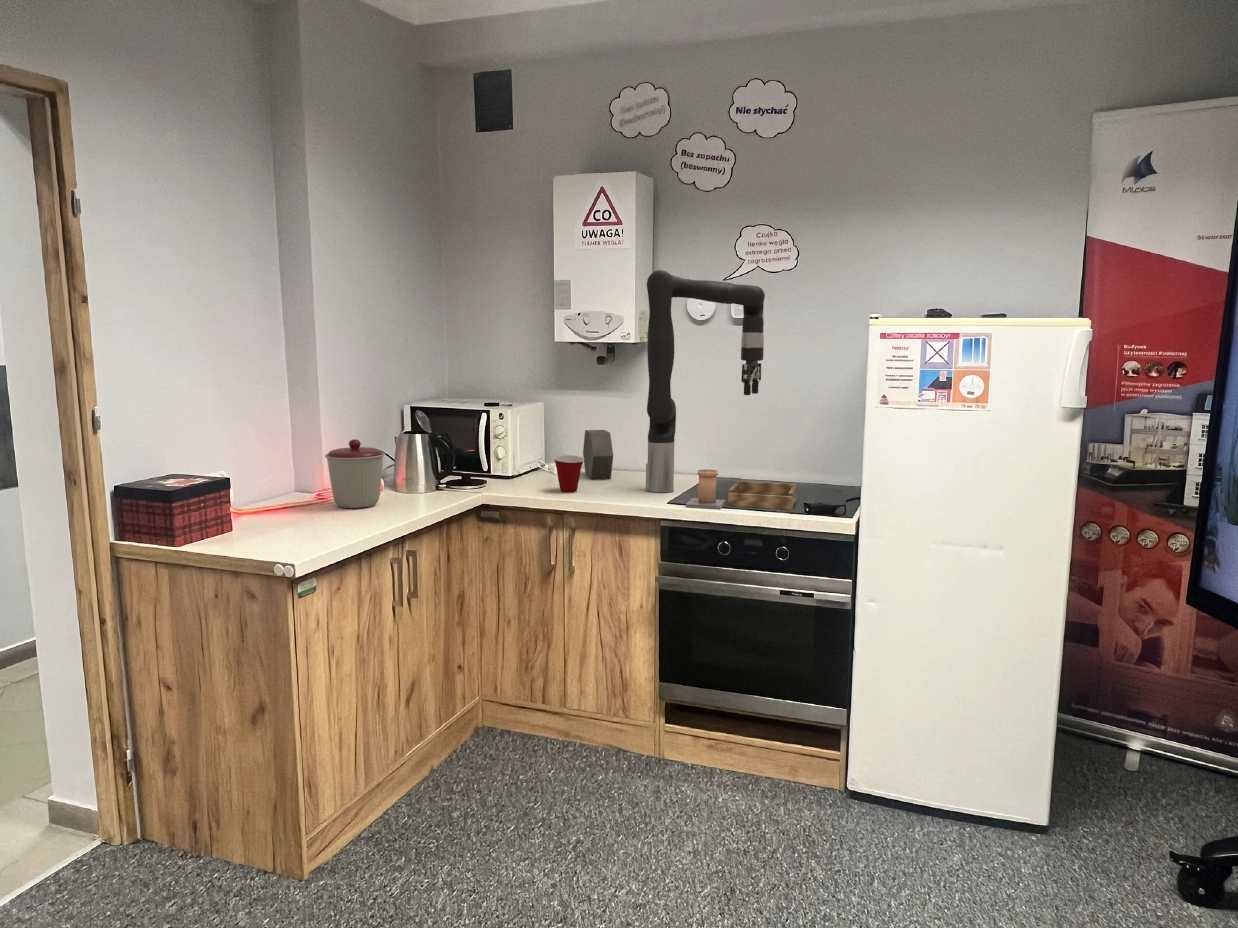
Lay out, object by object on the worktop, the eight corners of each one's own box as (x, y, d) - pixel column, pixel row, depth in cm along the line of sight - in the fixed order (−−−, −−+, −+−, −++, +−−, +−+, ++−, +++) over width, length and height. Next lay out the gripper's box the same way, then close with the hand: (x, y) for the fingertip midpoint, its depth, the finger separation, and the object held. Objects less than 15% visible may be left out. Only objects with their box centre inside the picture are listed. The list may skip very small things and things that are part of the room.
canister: (396, 501, 282) (394, 437, 279) (368, 512, 265) (366, 443, 262) (346, 499, 286) (343, 435, 283) (315, 509, 269) (312, 441, 266)
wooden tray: (728, 505, 279) (728, 488, 278) (735, 497, 294) (736, 480, 293) (791, 509, 273) (792, 492, 273) (795, 500, 289) (796, 484, 288)
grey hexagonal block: (615, 469, 323) (608, 419, 331) (594, 469, 321) (588, 420, 329) (606, 487, 337) (600, 439, 346) (587, 488, 336) (581, 440, 344)
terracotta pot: (695, 502, 278) (696, 471, 277) (699, 499, 284) (699, 468, 283) (715, 504, 276) (716, 472, 275) (718, 500, 283) (719, 469, 281)
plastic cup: (566, 495, 296) (566, 460, 294) (547, 490, 304) (546, 456, 302) (591, 491, 303) (591, 457, 301) (571, 487, 311) (571, 454, 309)
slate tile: (685, 507, 276) (685, 504, 276) (692, 500, 287) (692, 498, 287) (719, 509, 273) (720, 506, 273) (725, 502, 284) (725, 499, 284)
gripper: (748, 346, 303) (746, 392, 305) (734, 346, 290) (733, 395, 292) (769, 346, 299) (767, 393, 302) (756, 346, 287) (755, 396, 289)
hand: (751, 394), depth 297 cm, fingers open, 8 cm apart
